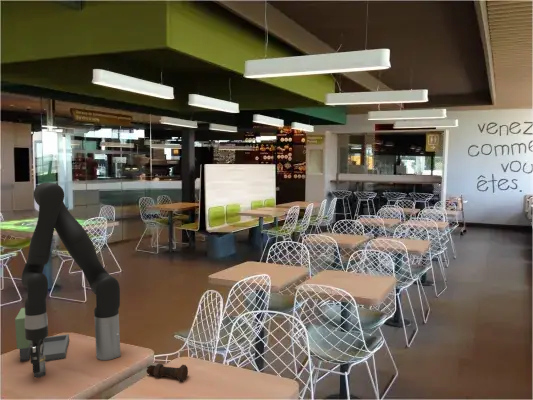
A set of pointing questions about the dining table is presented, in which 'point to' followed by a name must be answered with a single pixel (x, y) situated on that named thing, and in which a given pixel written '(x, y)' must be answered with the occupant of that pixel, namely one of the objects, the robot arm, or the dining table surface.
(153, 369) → the bolt
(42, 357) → the pin
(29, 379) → the dining table surface
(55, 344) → the parts tray
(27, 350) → the control unit
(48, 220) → the robot arm
